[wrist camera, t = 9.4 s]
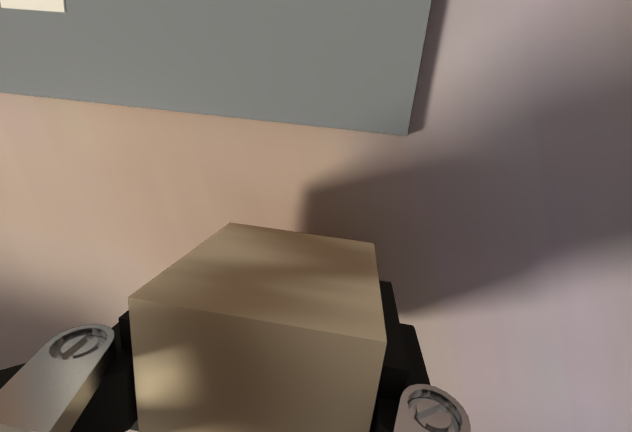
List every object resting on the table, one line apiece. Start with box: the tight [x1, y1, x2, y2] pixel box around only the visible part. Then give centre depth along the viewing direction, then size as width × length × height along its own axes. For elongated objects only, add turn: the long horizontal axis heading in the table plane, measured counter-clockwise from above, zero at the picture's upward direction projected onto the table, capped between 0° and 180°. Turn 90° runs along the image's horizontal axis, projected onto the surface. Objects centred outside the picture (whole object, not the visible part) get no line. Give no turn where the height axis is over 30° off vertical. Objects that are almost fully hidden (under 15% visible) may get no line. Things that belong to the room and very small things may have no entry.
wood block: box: [128, 223, 387, 432], centre depth 9 cm, size 5×5×5 cm
